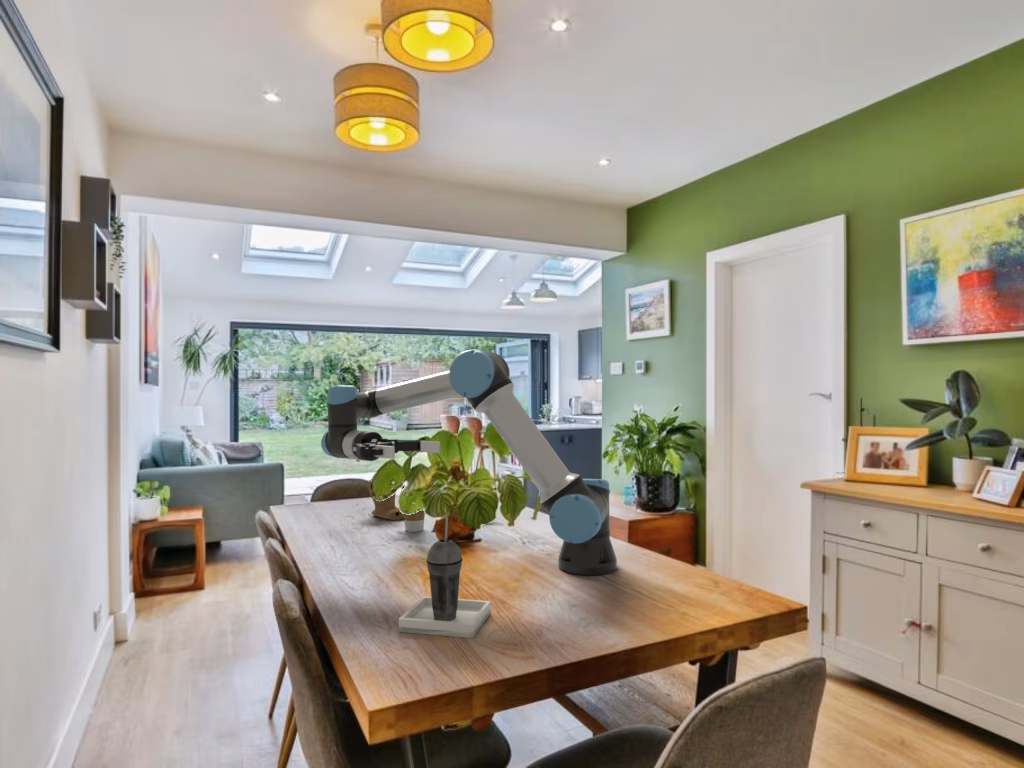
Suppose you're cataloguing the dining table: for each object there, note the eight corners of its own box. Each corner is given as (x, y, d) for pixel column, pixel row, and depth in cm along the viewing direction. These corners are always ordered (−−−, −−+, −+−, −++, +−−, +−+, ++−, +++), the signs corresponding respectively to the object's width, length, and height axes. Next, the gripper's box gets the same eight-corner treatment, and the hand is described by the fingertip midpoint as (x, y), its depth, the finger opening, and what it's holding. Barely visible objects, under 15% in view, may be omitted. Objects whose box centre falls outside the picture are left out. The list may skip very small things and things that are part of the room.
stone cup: (362, 516, 225) (362, 475, 225) (392, 512, 232) (392, 472, 232) (380, 523, 213) (380, 480, 213) (411, 519, 220) (411, 477, 220)
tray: (490, 613, 128) (490, 601, 128) (473, 638, 116) (473, 625, 116) (423, 607, 132) (422, 596, 132) (398, 631, 119) (398, 618, 119)
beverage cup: (419, 621, 122) (419, 520, 122) (437, 608, 128) (437, 513, 128) (452, 626, 119) (451, 523, 119) (469, 613, 126) (468, 515, 126)
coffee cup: (422, 533, 198) (421, 487, 198) (397, 532, 200) (397, 486, 200) (430, 527, 206) (430, 482, 206) (407, 526, 208) (406, 482, 208)
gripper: (403, 455, 167) (456, 460, 153) (320, 465, 149) (372, 472, 134) (402, 427, 167) (455, 430, 153) (320, 434, 149) (371, 437, 134)
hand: (417, 449), depth 144 cm, fingers open, 13 cm apart
